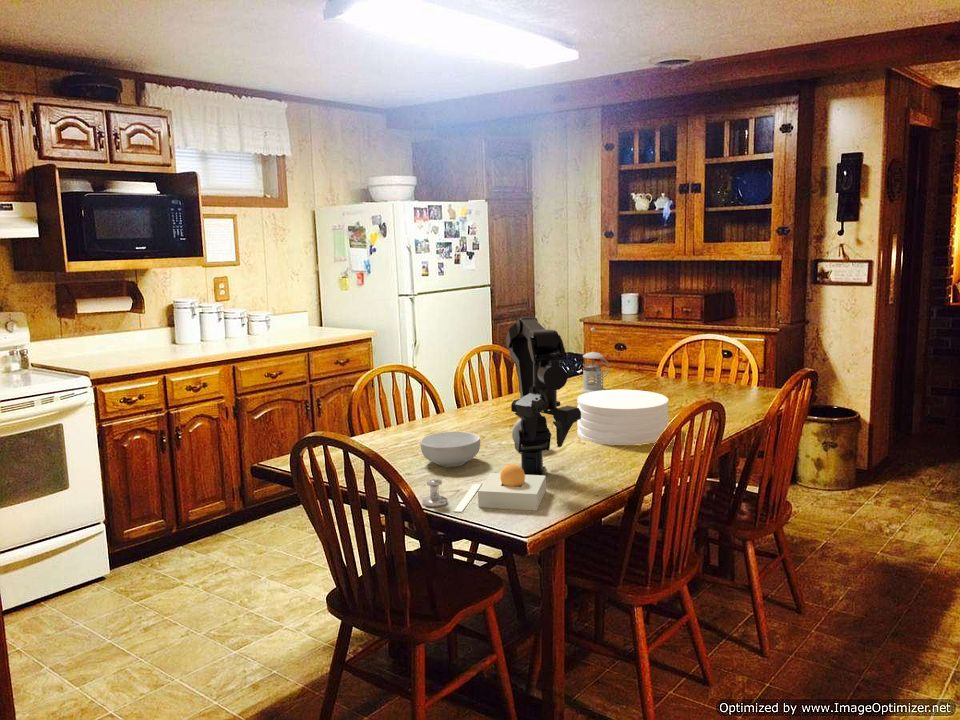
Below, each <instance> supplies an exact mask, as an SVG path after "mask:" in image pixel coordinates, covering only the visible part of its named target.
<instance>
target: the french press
mask: <svg viewBox="0 0 960 720" xmlns="http://www.w3.org/2000/svg"><path fill="white" fill-rule="evenodd" d="M590 331H591V332H596V328H595V327H591V328H590ZM582 358H584V359H587V360H588V359H590V360H596V359H597V360H598V359H599V360H600V362H601V363H604V362H605V364H606V365H607V366H610V363H609V361H608V360H607V359H605V358H604V355H603V354H601V353H599V352H595V351H591V352H587V353H584V354H583V355H582ZM583 367H584V369H583V374H582V377H583V378H582V380H583V382H582V384H583V387H582V388H581V389H580V392H584V393H588V392H593V391H601V390H606V389H605V388H604V378H605V377H607V375H608V374H609V372H610V369H606V370H605V373H604V370H603V369H601V368H602V367H603V365H602V364H594V363H592V364H591V363H590V364H585V365H583Z"/></svg>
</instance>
